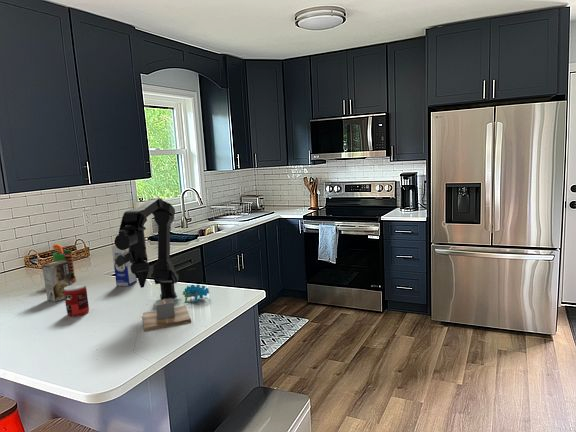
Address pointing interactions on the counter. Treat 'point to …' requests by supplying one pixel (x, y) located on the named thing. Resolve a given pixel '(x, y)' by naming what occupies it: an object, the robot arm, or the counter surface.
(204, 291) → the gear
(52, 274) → the coffee box
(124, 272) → the milk carton
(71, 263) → the multicoloured piece
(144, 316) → the plate
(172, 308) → the grey box with handle
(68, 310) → the canned food
